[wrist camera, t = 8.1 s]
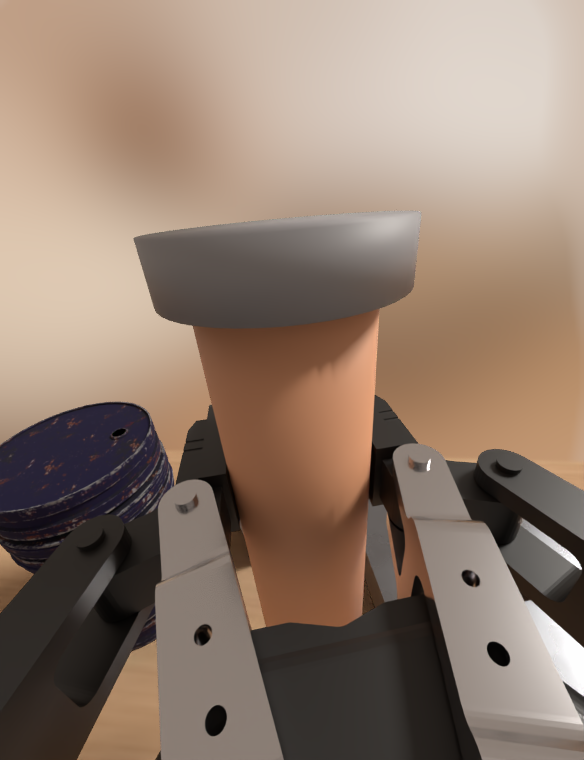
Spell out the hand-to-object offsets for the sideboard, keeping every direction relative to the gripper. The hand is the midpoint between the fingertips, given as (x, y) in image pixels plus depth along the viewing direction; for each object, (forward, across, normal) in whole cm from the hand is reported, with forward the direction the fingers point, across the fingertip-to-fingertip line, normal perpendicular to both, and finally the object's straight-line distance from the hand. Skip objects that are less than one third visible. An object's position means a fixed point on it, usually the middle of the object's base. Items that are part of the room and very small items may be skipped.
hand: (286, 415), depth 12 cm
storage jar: (+7, +13, +20) cm, 25 cm away
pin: (-3, 0, +8) cm, 9 cm away
